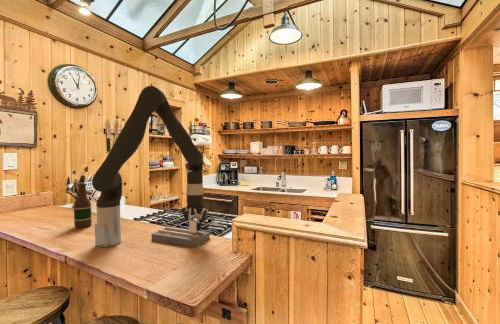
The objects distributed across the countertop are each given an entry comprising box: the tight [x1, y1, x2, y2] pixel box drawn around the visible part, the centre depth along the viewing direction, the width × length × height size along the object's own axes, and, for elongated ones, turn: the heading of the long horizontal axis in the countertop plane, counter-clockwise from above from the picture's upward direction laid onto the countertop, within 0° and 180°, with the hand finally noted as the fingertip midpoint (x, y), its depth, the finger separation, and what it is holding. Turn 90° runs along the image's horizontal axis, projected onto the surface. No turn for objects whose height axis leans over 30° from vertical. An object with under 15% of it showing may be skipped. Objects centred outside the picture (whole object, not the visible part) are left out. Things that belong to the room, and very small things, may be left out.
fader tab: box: [188, 217, 198, 235], centre depth 112 cm, size 5×3×7 cm, turn 159°
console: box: [151, 226, 211, 249], centre depth 115 cm, size 12×24×4 cm, turn 69°
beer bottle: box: [73, 182, 92, 230], centre depth 134 cm, size 8×8×24 cm
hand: (195, 229), depth 112 cm, fingers open, 3 cm apart
